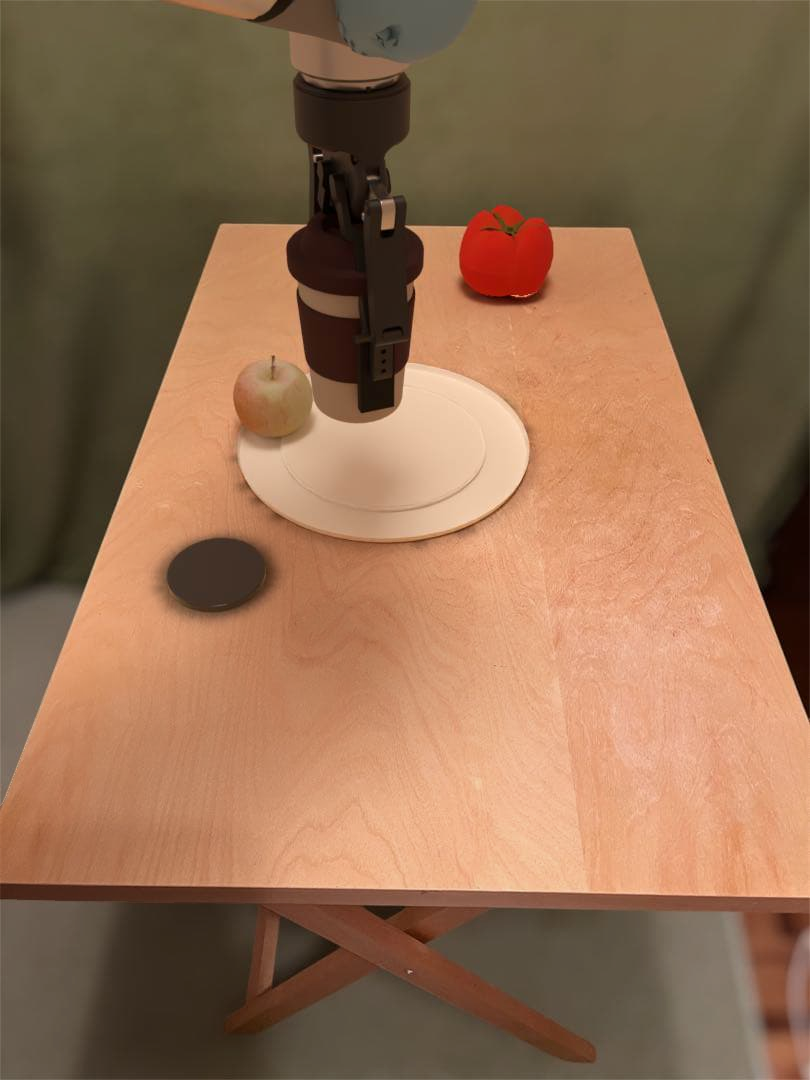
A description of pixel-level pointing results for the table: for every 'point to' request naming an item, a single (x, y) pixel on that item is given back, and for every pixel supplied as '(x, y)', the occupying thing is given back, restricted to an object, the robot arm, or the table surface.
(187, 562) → the slate coaster
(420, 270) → the coffee cup
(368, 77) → the robot arm
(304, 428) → the plate
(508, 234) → the tomato
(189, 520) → the table surface
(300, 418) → the fruit
